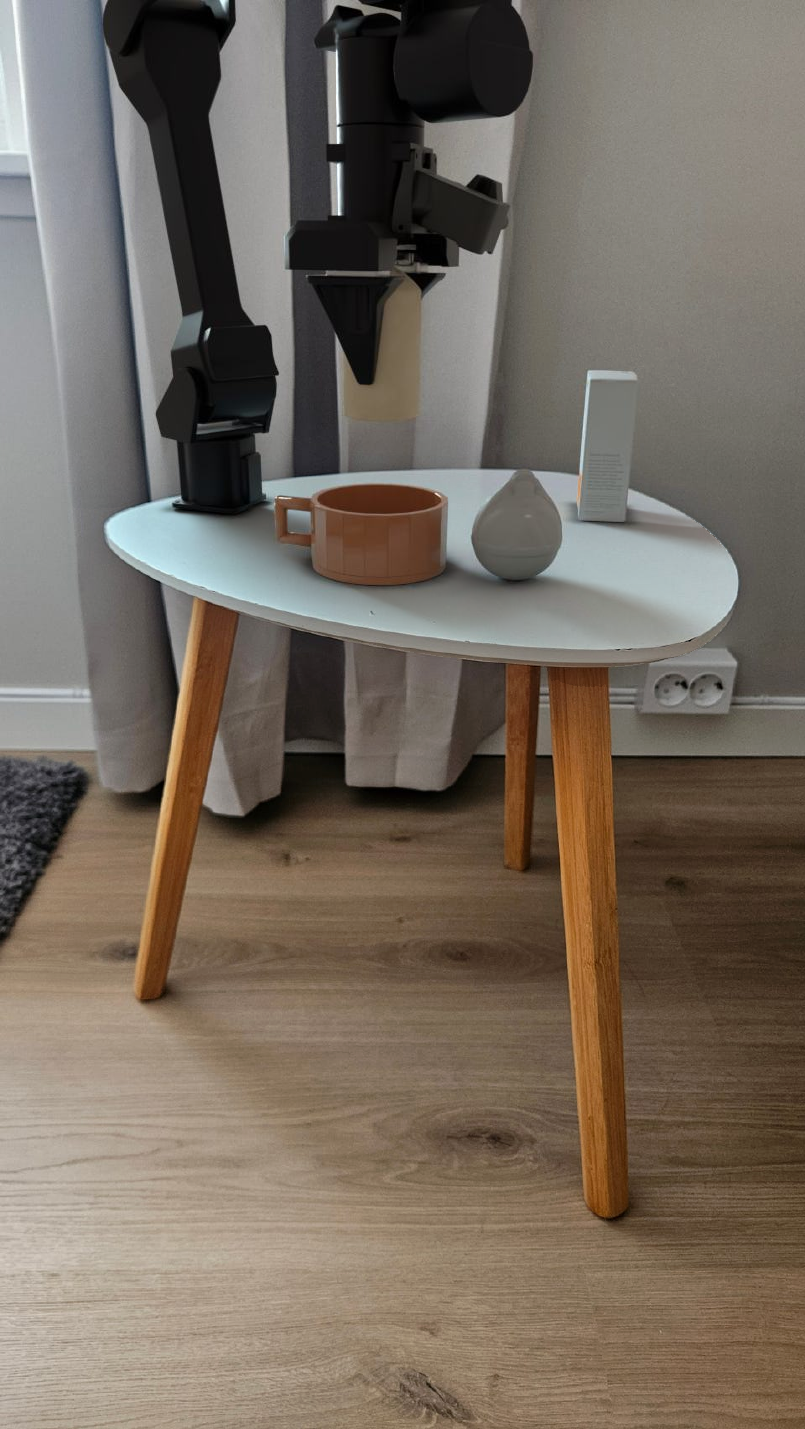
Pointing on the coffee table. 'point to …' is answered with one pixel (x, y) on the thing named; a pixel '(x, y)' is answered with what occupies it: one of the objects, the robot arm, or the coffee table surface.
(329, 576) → the coffee cup
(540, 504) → the grey teardrop shape
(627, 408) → the cosmetic box
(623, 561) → the coffee table surface
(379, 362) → the candle
